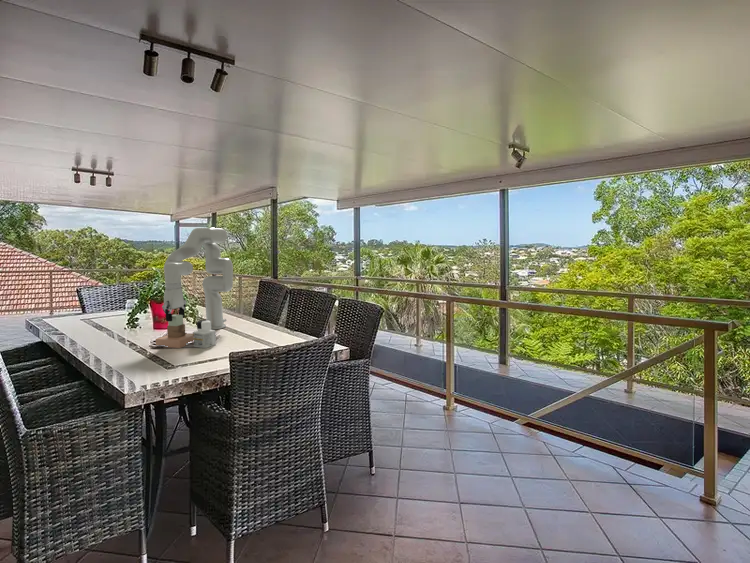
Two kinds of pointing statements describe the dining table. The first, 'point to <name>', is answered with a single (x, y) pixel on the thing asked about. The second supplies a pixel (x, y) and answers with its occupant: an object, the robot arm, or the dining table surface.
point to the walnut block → (176, 331)
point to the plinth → (174, 341)
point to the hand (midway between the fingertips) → (175, 319)
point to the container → (204, 335)
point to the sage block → (176, 320)
